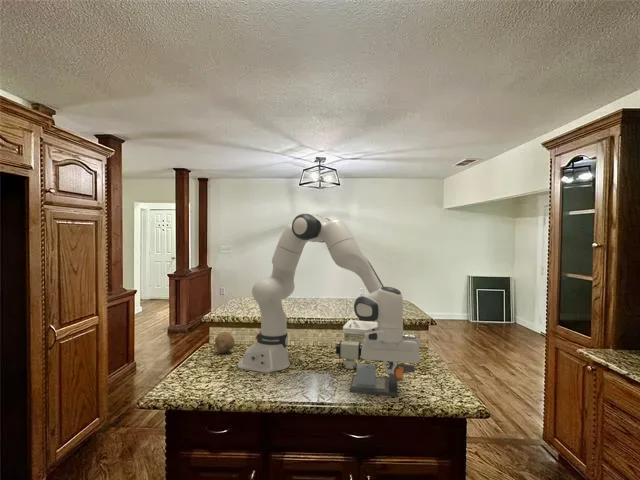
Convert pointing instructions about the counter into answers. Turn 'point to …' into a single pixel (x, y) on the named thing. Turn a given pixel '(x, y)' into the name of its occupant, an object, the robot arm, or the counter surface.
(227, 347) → the natural sponge
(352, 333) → the storage basket
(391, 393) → the press
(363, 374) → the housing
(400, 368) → the lever
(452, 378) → the counter surface
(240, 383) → the counter surface
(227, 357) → the counter surface
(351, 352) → the pneumatic valve
